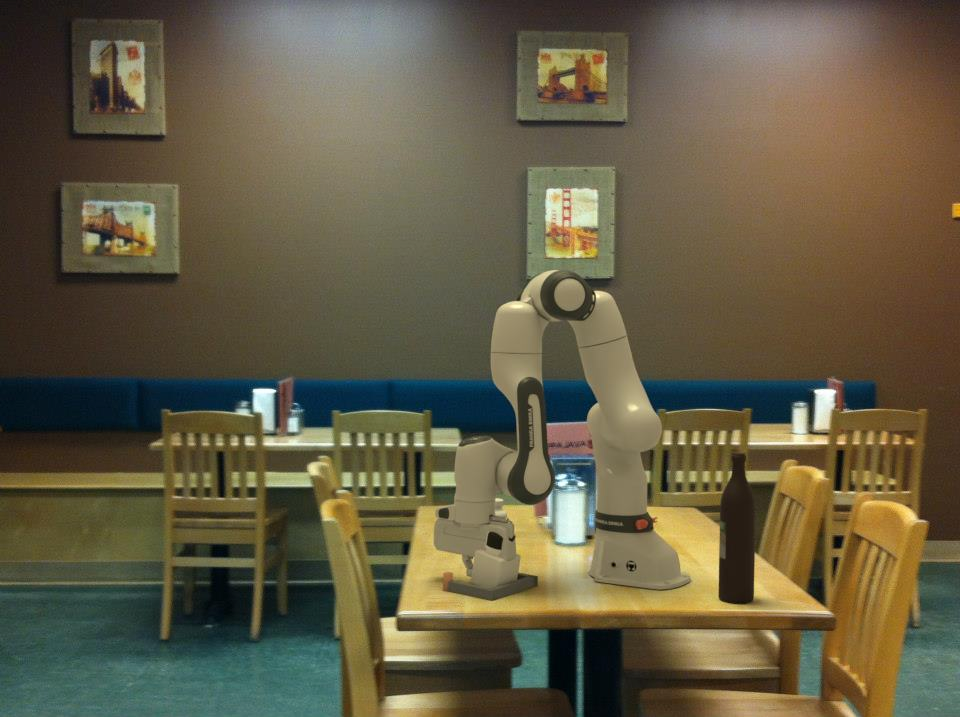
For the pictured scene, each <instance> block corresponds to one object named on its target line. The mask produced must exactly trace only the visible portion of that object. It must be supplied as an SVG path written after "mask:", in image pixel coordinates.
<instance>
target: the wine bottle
mask: <svg viewBox="0 0 960 717" xmlns="http://www.w3.org/2000/svg"><path fill="white" fill-rule="evenodd" d="M731 462H732V465H731V466H732V469H731V475H730V478H729V479H728V482H727V484H726V486H725V487H724V490H723V491H722V494H721V498H720V503H719V504H720V505H719V508H720V509H719V546H718V547H719V549H718V550H719V553H718V555H719V556H718V557H719V558H718V598H719V600H721V601H724V602H725V601H726V603H730V602H732V604H747V603H746V602H749V603H751V601H752V602H753V601H754V598H755V565H756V564H755V562H756V561H755V560H756V556H755V555H756V551H755V550H756V517H757V516H756V513H757V512H756V498H755V494H754V492H753V489H752V488H751V485H750V484H749V482H748V479H747V477H746V470H745V469H746V462H747V455H746V453H745V452H732V454H731Z"/></svg>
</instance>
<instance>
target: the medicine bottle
mask: <svg viewBox="0 0 960 717" xmlns="http://www.w3.org/2000/svg"><path fill="white" fill-rule="evenodd" d="M508 539H509V541H511V542H513V541H514V539H515V540H516V535H515V536H513V538H512V539H510V537H509V538H508ZM502 542H503V537H502V536H500V535H499V534H497V533H495V532H487V537H486V544H485V548H486V551H484V550H482V549H479V550H476V551H475V556H474V557H473V562H472V563H473V569H472V575H471V577H470V583H471V584H473V585H478V586H483V587H488V588H493V587H496V586H499V585H502V584H506V583H509V582H512V581H515V580H517V577H518V573H519V570H520V563H521V554H518V553H516V557H515V559H513V560H511V561H506V560H505V559H503V558H501V557H499V556H498V555H499V553H500V554H501V549H502Z"/></svg>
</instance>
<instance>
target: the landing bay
mask: <svg viewBox="0 0 960 717" xmlns="http://www.w3.org/2000/svg"><path fill="white" fill-rule="evenodd" d="M453 576H454V573H453V572H451V571H450V572H448V571H447V572H443V573H442V577H443V578H442V579H443V580H442V590H443V591H445V592H450V593H455V594H460V595H465V596H469V597H475V598H478V599H482V600H483V599H484V600H489V601H495V600H499V599H501V598H504V597H508V596H511V595H513V594H516V593H520V592H523V591H526V590H529V589H531V588H535V587H538V586H539V576H537V575H533V574H528V573H523V572H518V577H517V580H515V581H512V582H509V583H506V584H502V585H499V586H496V587H493V588H488V587H483V586H479V585H476V584H474V583H468V582H462V581H458V580H454V577H453Z"/></svg>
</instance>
